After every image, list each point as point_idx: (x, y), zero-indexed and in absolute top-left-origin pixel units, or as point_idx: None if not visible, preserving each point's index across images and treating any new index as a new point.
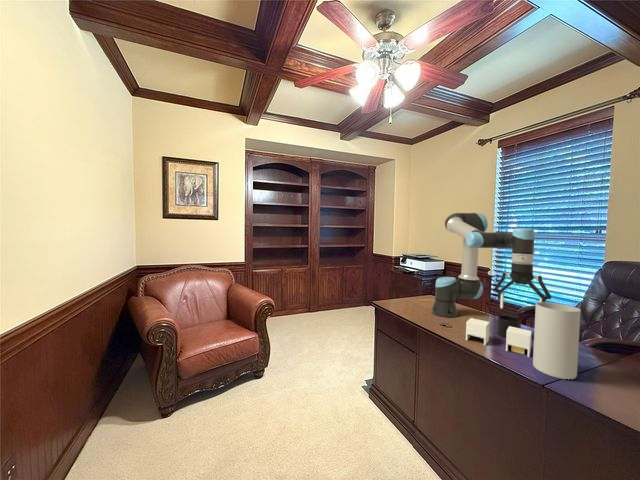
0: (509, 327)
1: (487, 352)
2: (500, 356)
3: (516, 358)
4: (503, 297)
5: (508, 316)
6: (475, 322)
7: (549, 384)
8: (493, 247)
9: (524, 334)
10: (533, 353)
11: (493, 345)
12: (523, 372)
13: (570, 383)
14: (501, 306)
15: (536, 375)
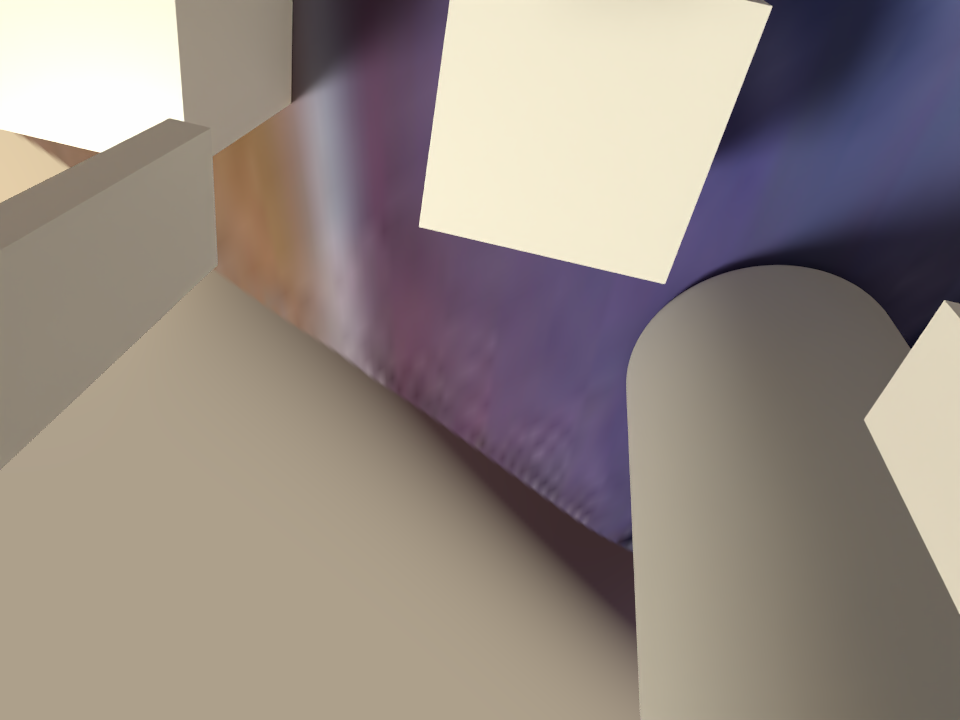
0: (459, 23)
1: (331, 268)
2: (423, 297)
3: (536, 273)
4: (29, 240)
5: None
6: (33, 67)
7: None
8: None
9: (611, 253)
10: (629, 425)
11: (357, 51)
12: (545, 465)
13: None
14: (182, 279)
15: (612, 470)
